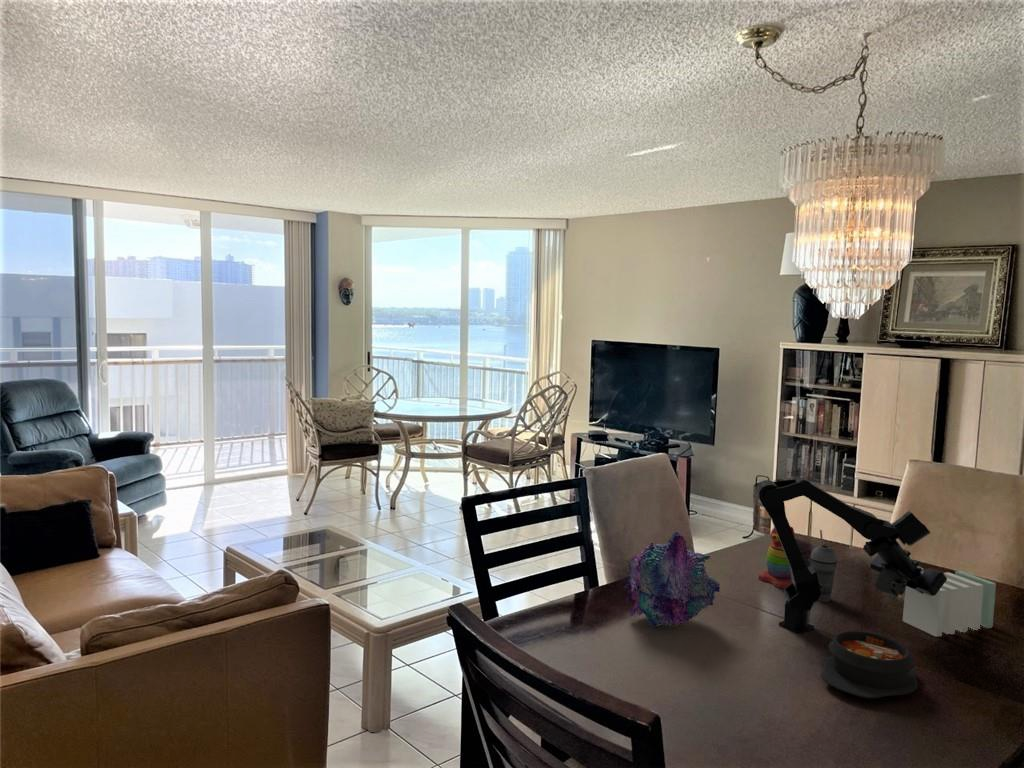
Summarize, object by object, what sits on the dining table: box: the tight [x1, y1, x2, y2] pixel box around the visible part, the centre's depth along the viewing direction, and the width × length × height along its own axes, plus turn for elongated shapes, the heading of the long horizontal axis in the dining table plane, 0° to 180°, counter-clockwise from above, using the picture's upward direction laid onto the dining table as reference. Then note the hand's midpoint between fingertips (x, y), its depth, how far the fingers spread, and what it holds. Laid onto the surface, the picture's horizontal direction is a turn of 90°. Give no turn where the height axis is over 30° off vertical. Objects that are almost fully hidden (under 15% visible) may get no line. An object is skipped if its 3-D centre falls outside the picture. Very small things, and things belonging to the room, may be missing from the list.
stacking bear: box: [758, 526, 796, 590], centre depth 216 cm, size 11×10×18 cm
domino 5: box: [954, 570, 997, 629], centre depth 189 cm, size 2×10×12 cm, turn 19°
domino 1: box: [902, 586, 946, 637], centre depth 184 cm, size 2×10×12 cm, turn 19°
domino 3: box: [945, 578, 971, 633], centre depth 186 cm, size 2×10×12 cm, turn 19°
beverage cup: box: [809, 529, 839, 603], centre depth 203 cm, size 7×7×20 cm
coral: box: [623, 530, 721, 628], centre depth 183 cm, size 25×21×25 cm
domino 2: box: [941, 583, 958, 635], centre depth 185 cm, size 2×10×12 cm, turn 19°
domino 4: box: [943, 571, 983, 631], centre depth 188 cm, size 2×10×12 cm, turn 19°
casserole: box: [820, 630, 919, 700], centre depth 155 cm, size 25×19×8 cm
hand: (922, 592), depth 183 cm, fingers closed
